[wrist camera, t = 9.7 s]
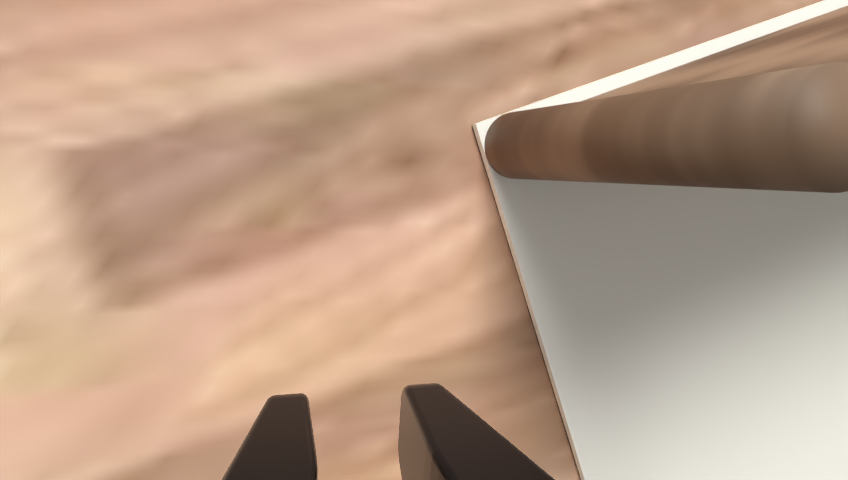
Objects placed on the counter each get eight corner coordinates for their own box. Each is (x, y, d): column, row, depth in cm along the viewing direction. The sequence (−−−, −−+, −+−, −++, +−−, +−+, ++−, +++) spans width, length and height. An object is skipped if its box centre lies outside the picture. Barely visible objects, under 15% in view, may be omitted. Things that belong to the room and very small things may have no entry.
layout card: (632, 647, 26) (638, 653, 26) (472, 124, 22) (476, 123, 22) (989, 433, 31) (999, 436, 30) (906, -30, 27) (916, -32, 27)
